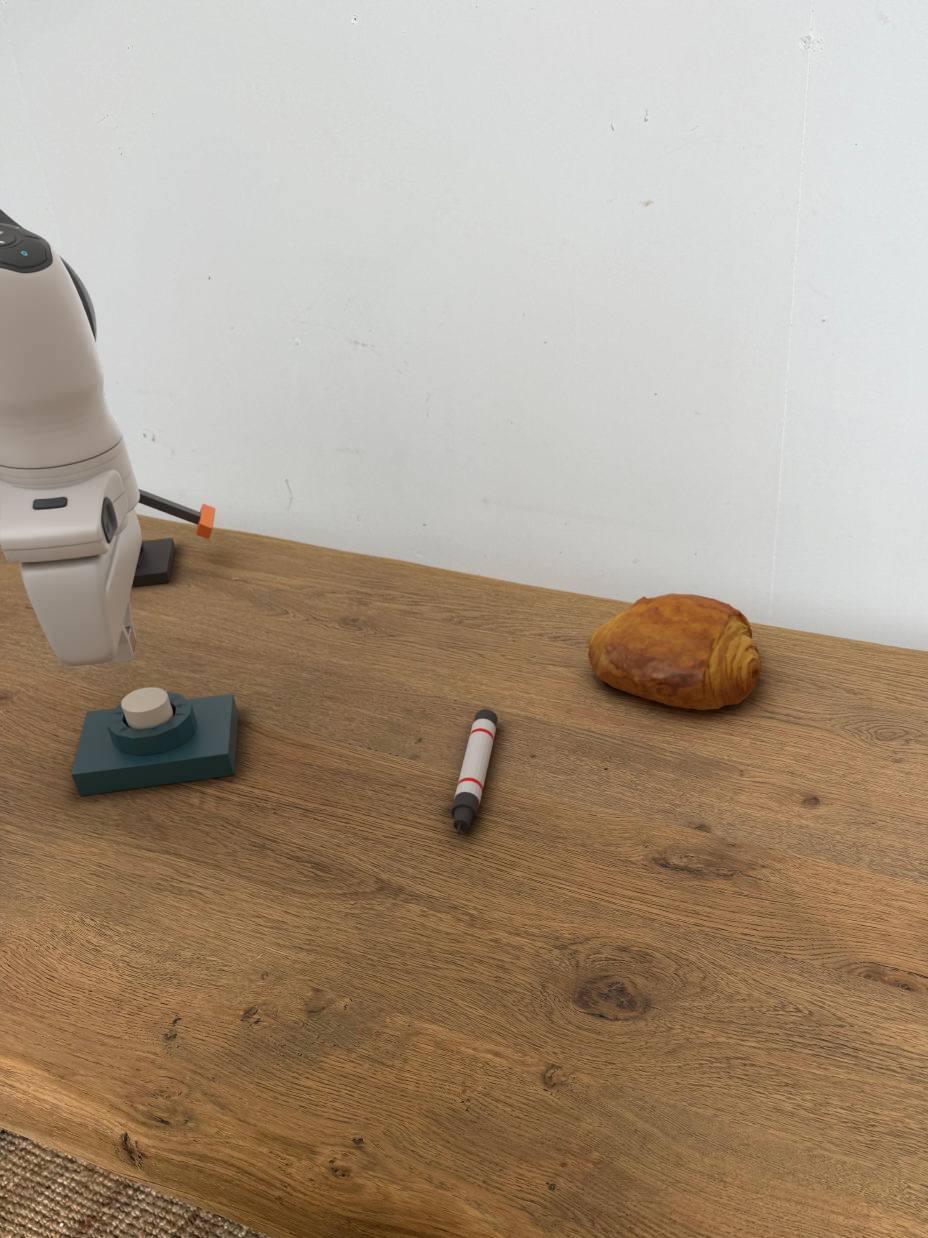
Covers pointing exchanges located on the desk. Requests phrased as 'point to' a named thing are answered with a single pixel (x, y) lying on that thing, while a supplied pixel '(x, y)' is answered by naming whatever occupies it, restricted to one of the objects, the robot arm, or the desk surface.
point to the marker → (474, 770)
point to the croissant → (678, 652)
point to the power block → (157, 746)
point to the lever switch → (182, 512)
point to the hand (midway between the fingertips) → (124, 653)
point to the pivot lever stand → (154, 562)
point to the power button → (147, 708)
